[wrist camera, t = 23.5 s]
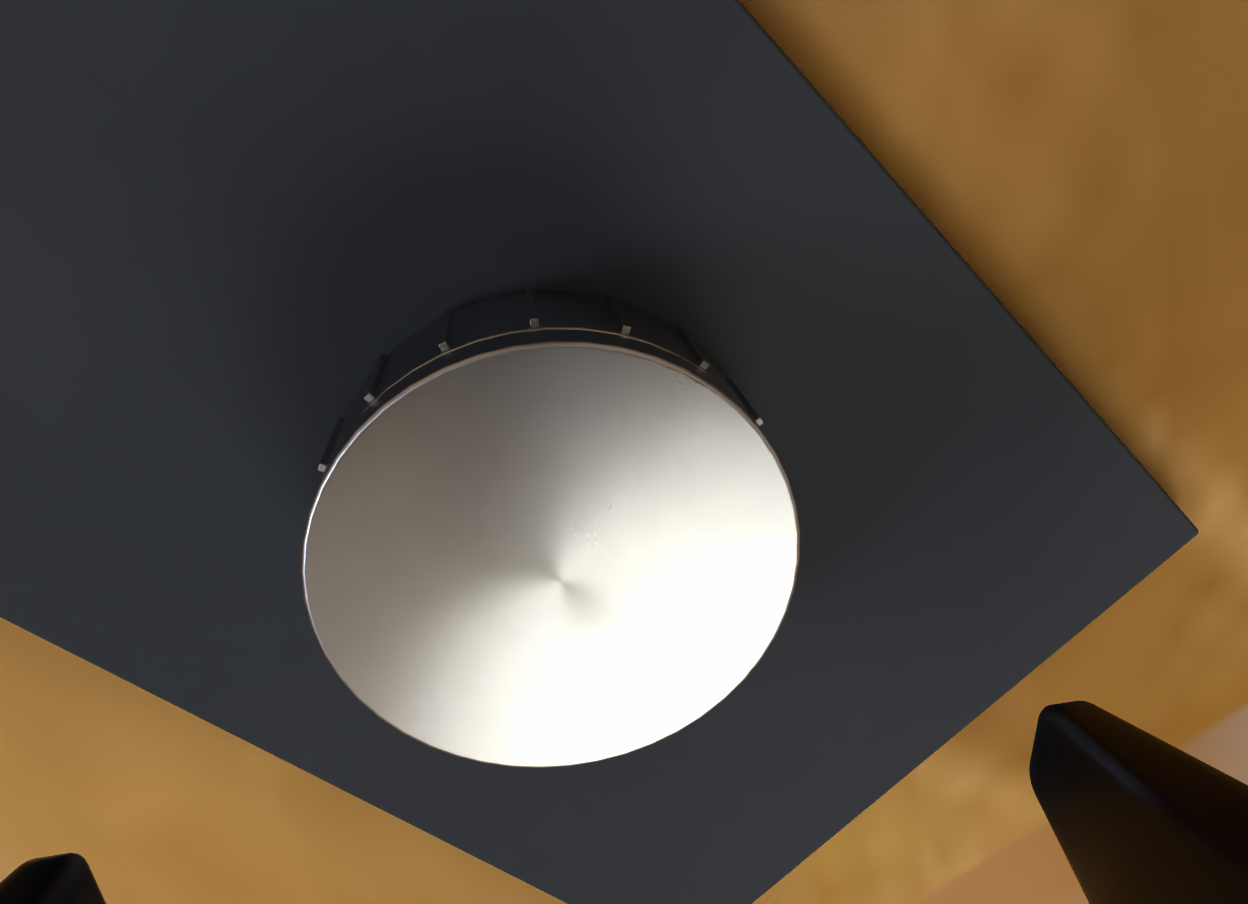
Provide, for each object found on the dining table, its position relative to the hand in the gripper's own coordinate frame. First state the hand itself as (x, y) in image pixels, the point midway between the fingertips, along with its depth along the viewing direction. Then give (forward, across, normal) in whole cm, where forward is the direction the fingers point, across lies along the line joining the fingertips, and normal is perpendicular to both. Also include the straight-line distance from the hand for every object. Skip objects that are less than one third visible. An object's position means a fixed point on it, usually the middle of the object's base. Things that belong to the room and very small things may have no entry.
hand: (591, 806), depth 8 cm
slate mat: (+7, 0, 0) cm, 7 cm away
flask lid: (+4, 0, 0) cm, 4 cm away
